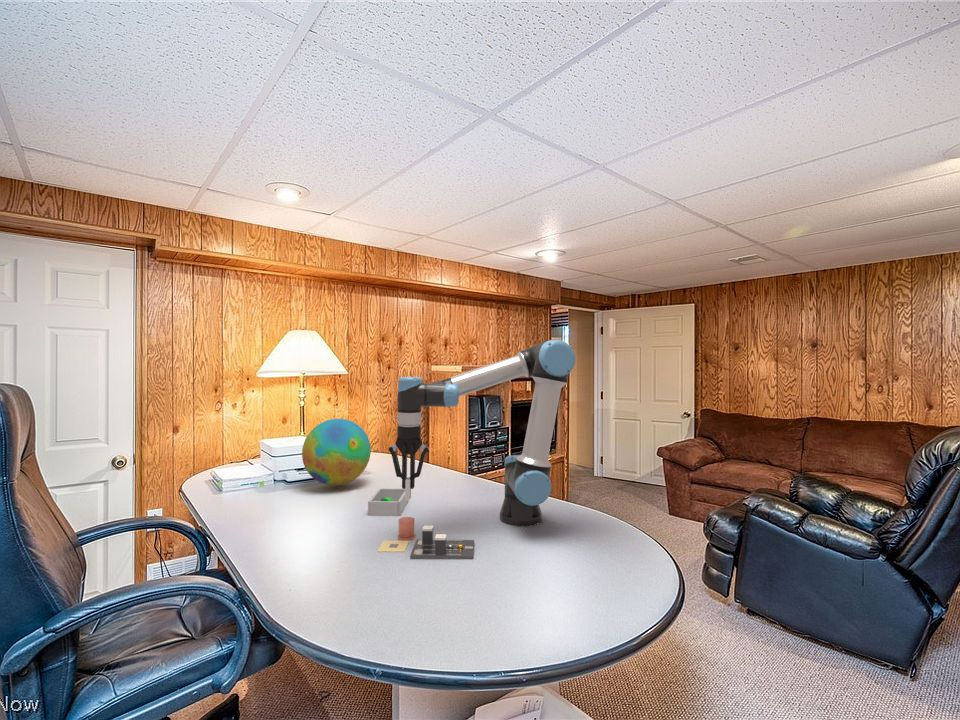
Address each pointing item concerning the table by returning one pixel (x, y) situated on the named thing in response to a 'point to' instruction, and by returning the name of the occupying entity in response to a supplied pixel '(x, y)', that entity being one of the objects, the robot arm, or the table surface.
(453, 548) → the breaker panel
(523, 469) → the robot arm
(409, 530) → the cap
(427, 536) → the toggle
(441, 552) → the toggle
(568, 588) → the table surface
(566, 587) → the table surface
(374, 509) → the parts corral
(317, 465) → the globe
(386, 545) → the pad
